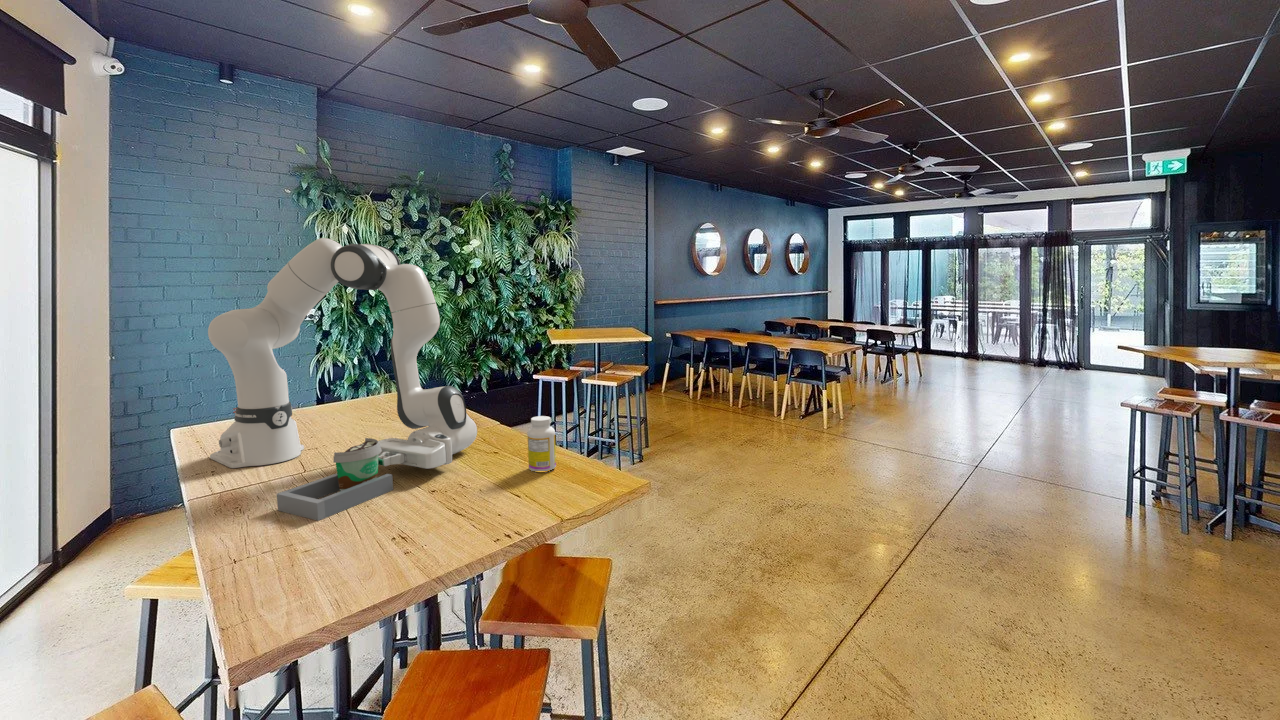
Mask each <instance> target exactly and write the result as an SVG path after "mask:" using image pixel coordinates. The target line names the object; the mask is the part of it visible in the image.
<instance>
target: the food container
mask: <svg viewBox="0 0 1280 720" xmlns="http://www.w3.org/2000/svg"><path fill="white" fill-rule="evenodd" d="M378 441H379V440H378V439H376V438H372V437H371V438H370V437H365V438H364V442H362V443H360V444H358V445H354V446H351V447H350V448H348V449H347V450H345V451H344V452H342V451H341V452H336V451H335V452H333V454H334V455H333V463H335V468H336V473H337V476H338V482H339V489H340V491H343V490H345V489H348V488H351V487H353V486H356V485H359V484H361V483H364V482H367V481H369V480H372V479H375V478H377V477H379V465H378V454H379V453H381V451H382V450H381V447H380V444H379V443H378ZM340 491H339V492H340Z"/></svg>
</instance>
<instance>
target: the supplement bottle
mask: <svg viewBox="0 0 1280 720" xmlns="http://www.w3.org/2000/svg"><path fill="white" fill-rule="evenodd" d="M530 423H531V428H529V429H528V430H527V452H528V454H527V456H528V458H527V459H528V470H531V471H530V472H532V471H548V470H552V469H554V468H555V467H556V468H557V459H556V458H557V455H556V454H557V451H556V450H557V449H556V430H555V428H553V427H552V426H551V423H552V420H551V417H550V416H546V415H537V416H533V417H531V418H530ZM556 468H555V469H556ZM555 469H554V470H555ZM552 471H553V470H552Z"/></svg>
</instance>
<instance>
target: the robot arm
mask: <svg viewBox="0 0 1280 720" xmlns="http://www.w3.org/2000/svg"><path fill="white" fill-rule="evenodd" d="M338 283H340V285H341V284H342V285H343V286H344V287H345V286H346V287H348V288H350V289H355V290H367V291H376V290H378V291H381V292H382V293H383V295H384V296H385V299H386V300H387V304H388V307H389V310H390V315H391V319H392V324H393V325H392V326H393V329H392V330H393V332H392V333H393V334H392V336H391V340H390V353H391V361H392V367H393V375H394V381H395V386H396V397H397V400H396V401H397V402H396V412H397V416H398V418H399V419H400V422H402V424H403V425H404V426H405V427H407V428H409V429H412V430H414V431H412V432H411V433H410V434H409V436H408V437H407V439H405V438H404V439H403V438H396V437H389V438H384V439H381V440H377V441H378V443H379V444H380V447H381V450H382V451H381V453H379V454H378V466H381V467H389V466H391V465H392V466H393V465H404V466H410V467H415V468H421V469H435V468H437V467H441V466H442V465H449V464H451V463H453V455H455V454H458V453H460V452H461V451H463V450H465V449H467V448H469V447H470V446H471V445H472V444H473V443H474V442H475V440H476V438H477V434H478V427H477V424H476V423H475V421H474V419H472V418H471V417H470V416H469V415H468V413H467V406H466V402H465V398H464V396H463V394H462V393H461V392H460V391H459V389H457V388H456V387H454V386H453V385H445V386H439V387H433V388H428V389H426V388H425V389H423V388H422V386H421V382H420V375H419V369H418V364H417V358H418V357H417V356H418V354H419V352H420V350H421V348H422V347H423V346H424V345H425V344H426V343H428V342H429V341H431V339H433V337H434V336H435V335H436V334H437V332H438V330H439V328H440V326H441V325H440V323H441V320H440V312H439V309H438V305H437V303H436V302H437V301H436V298H435V295H434V292H433V289H432V287H431V285H430V282H429V280H428V278H427V276H426V274H425V272H424V270H423V269H422V268H421V267H419V266H418V265H416V264H411V263H402V264H401V261H400V259H399V257H398V255H397V254H396V253H395V252H394V251H392V249H389V248H387V247H385V246H381V245H376V244H371V243H361V244H360V243H350V244H347V245H344V246H343V245H342V244H340V243H339V242H338V241H336V240H333V239H331V238H327V237H320V238H317V239H315V240H314V241H312V242H310V243H309V244H308V245H307V246H306V245H305V247H304V248H302V249H301V250H300V251H299V252H297V254H295V255H294V256H293V257H292V258H291V259H290V260H289V261H288V262H287V263H286V264H285V265H284V266H283V267H282V268H281V269H280V270H279V271H278V272H277V273H276V274H275V275H274V276H273V277H272V279H271V280H270V281H268V284H267V288H266V289H267V290H266V291H267V292H266V295H265V296H264V298H263V300H262V301H260V303H259V304H257V305H256V306H254V307H250V308H239V309H238V308H237V309H231V310H229V311H226V312H223V313H221V314H219V315H216V316H215V317H214V318H213V319H212V320H211V321H210V323H209V325H208V329H207V335H208V339H209V342H210V343H211V345H212V346H213V347H214V349H216V350H217V351H219V352H221V353H222V354H223V356H224V357H225V359H226V361H227V362H228V365H229V367H230V369H231V372H232V375H233V377H234V383H235V390H236V399H237V407H234V408H232V410H234V411H233V414H234V418H233V419H234V422H233V423H232V424H231V425H230V426H229V427H228V428H227V429H226V430H225V431H224V432H222V433H221V434H220V438H219V439H218V445H219V448H220V450H218V451H215V452H213V453H211V454H209V459H211V460H213V461H215V462H217V463H218V464H221V465H223V466H226V467H228V468H229V469H237V468H245V467H255V466H267V465H272V464H277V463H281V462H286V461H289V460H292V459H295V458H297V457H299V456H301V454H302V451H303V450H304V449H305V445H304V444H301V442H300V435H299V431H298V426H297V421H296V420H295V419H294V418H292V416H293V406H292V402H291V401H290V398H289V386H288V385H289V384H288V374H287V373H286V371H285V370H284V369H283V368H282V367H281V366H280V365H279V364H278V362H277V359H276V357H275V355H274V354H275V353H274V351H273V350H275V349H280V348H282V347H283V348H284V346H286V345H287V346H288V344H290V343H292V342H293V341H295V340H296V338H297V337H298V336H299V334H300V331H301V325H302V323H303V322H304V320H305V318H306V317H307V315H308V314H309V313H310V312H311V311H312V309H313V308H314V307H315V306H316V305H317V304H318V303H319V302H320V301H322V299H323V298H324V297H325V296H326V295H327V294H328V293H329V292H330V291H331V290H332V289H333V288H334V286H336V285H337V284H338Z"/></svg>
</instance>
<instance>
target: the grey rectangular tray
mask: <svg viewBox="0 0 1280 720" xmlns="http://www.w3.org/2000/svg"><path fill="white" fill-rule="evenodd" d="M393 481H394V479H393V474H391V473H385V474H383V475H381V476H378V477H377V478H375V479H372V480H369V481H367V482H364V483H361V484H359V485H356V486H353V487H351V488H348V489H345V490H343V491H340V489H339V482H338V476H337V472H336V473H334V474H330V475H328V476H325V477H322V478H318V479H315V480H313V481H310V482H307V483H304V484H301V485H298V486H296V487H293V488H290V489H286V490H283V491H281V492H278V493H276V501H277V503H276V505H277V511H279V512H283V513H287V514H291V515H294V516H298V517H303V518H306V519H310V520H313V521H314V520H315V521H317V522H319V521H322V520H323V519H327V518H328V517H331V516H333V515H336V514H338V513H341V512H342V511H343V512H344V511H345V510H348V509H350V508H353V507H355V506H357V505H360V504H362V503H366V502H367V501H369V500H372V499H375V498H377V497H379V496H382V495H385V494H387V493H389V492H392V491H394V482H393Z"/></svg>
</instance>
